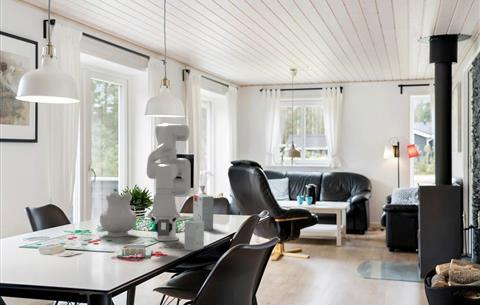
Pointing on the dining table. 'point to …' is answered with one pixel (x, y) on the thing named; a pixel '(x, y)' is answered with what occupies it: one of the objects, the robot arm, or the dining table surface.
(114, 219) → the ceramic pitcher
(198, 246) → the small box
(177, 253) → the dining table surface
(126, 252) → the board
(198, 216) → the hard drive box
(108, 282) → the dining table surface
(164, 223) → the plug
